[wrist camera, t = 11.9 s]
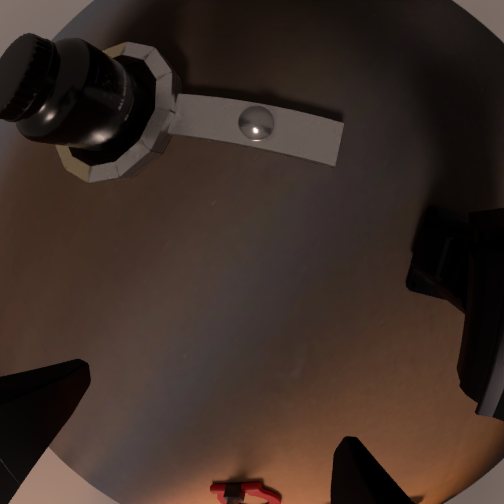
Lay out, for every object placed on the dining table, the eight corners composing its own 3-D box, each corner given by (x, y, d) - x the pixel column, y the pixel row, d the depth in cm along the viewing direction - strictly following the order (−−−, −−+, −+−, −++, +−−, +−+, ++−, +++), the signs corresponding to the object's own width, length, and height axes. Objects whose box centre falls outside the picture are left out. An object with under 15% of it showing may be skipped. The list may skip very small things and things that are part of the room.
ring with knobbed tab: (140, 50, 18) (129, 41, 16) (105, 182, 20) (90, 182, 18) (47, 65, 19) (35, 61, 17) (20, 169, 21) (7, 169, 19)
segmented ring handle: (350, 74, 16) (356, 63, 14) (316, 230, 19) (320, 234, 17) (135, 51, 18) (124, 42, 16) (100, 182, 20) (85, 182, 18)
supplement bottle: (171, 111, 19) (62, 51, 7) (109, 170, 20) (-14, 167, 8) (131, 61, 18) (36, 1, 6) (78, 116, 19) (-28, 93, 8)
